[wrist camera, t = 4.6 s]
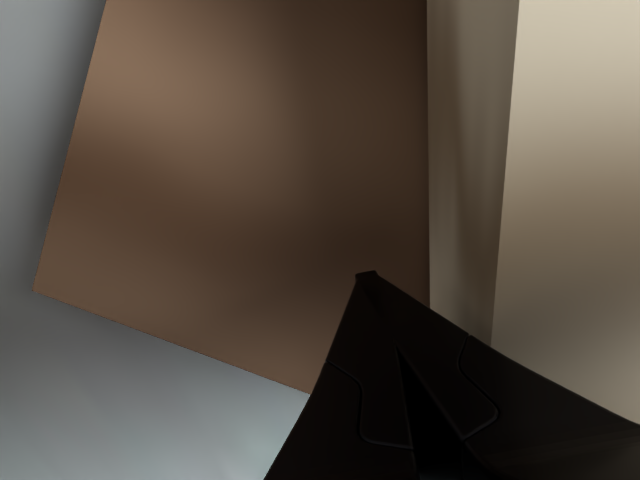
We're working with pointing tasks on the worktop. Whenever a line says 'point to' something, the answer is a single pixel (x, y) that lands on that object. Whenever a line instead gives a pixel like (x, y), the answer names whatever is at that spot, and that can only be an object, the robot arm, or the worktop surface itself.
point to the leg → (539, 186)
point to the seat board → (245, 174)
